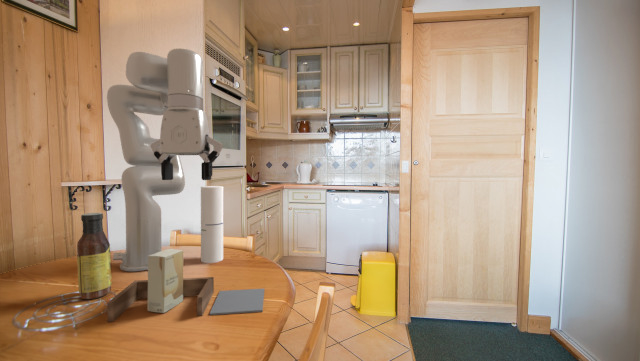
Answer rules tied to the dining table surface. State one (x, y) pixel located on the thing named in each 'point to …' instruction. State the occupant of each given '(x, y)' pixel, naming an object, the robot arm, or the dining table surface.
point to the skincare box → (165, 280)
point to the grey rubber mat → (238, 302)
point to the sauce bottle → (93, 258)
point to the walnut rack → (140, 290)
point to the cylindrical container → (211, 224)
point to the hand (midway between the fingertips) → (186, 179)
